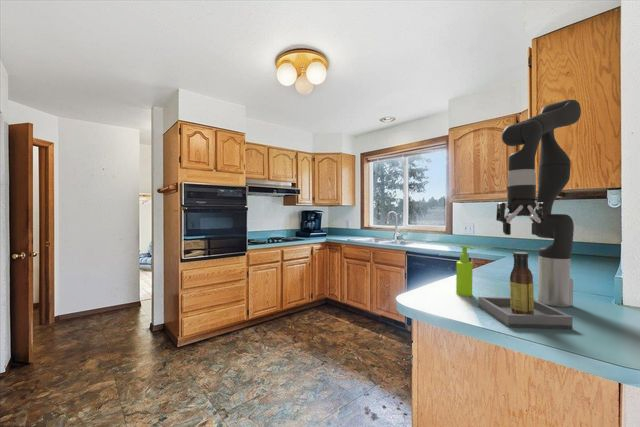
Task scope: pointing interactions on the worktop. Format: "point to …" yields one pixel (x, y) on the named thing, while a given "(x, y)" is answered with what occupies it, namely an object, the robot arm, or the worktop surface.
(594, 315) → the worktop surface
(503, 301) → the charcoal tray
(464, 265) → the soap dispenser
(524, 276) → the sauce bottle
